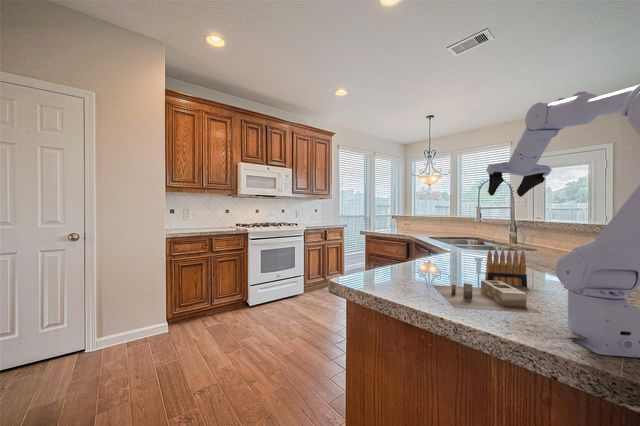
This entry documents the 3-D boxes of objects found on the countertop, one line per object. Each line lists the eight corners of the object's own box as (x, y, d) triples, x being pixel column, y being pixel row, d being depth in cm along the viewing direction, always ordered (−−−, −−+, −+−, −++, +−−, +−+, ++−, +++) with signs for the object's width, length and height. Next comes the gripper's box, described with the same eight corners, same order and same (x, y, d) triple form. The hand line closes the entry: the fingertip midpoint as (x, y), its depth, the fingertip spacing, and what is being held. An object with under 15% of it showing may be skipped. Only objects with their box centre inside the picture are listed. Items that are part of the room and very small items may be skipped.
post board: (541, 319, 57) (542, 296, 57) (454, 314, 59) (454, 292, 59) (497, 293, 75) (497, 276, 75) (431, 290, 77) (432, 273, 77)
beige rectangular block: (526, 306, 60) (526, 293, 60) (503, 305, 61) (503, 292, 61) (500, 291, 71) (500, 281, 71) (480, 290, 72) (481, 280, 72)
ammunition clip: (486, 289, 79) (487, 249, 79) (484, 287, 81) (485, 249, 81) (527, 291, 76) (528, 251, 76) (524, 290, 78) (524, 250, 78)
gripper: (551, 144, 67) (525, 186, 76) (491, 143, 69) (473, 184, 78) (566, 159, 62) (537, 201, 71) (501, 158, 64) (481, 199, 73)
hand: (504, 193), depth 74 cm, fingers open, 7 cm apart
